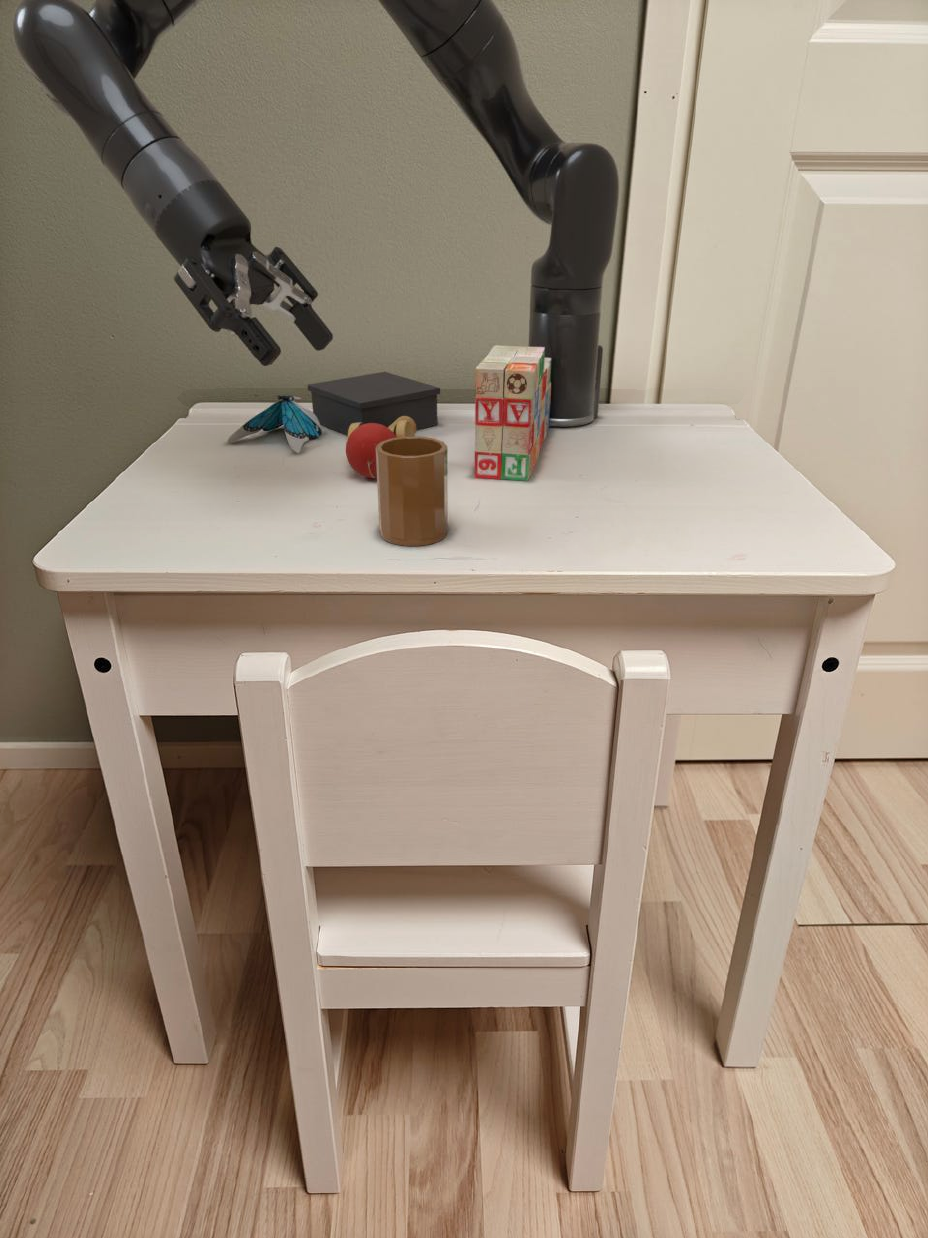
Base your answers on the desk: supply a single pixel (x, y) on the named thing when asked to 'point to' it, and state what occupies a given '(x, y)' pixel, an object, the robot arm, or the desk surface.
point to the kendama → (373, 442)
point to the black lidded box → (373, 401)
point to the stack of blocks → (511, 411)
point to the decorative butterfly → (283, 422)
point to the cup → (412, 490)
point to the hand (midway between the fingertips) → (301, 351)
